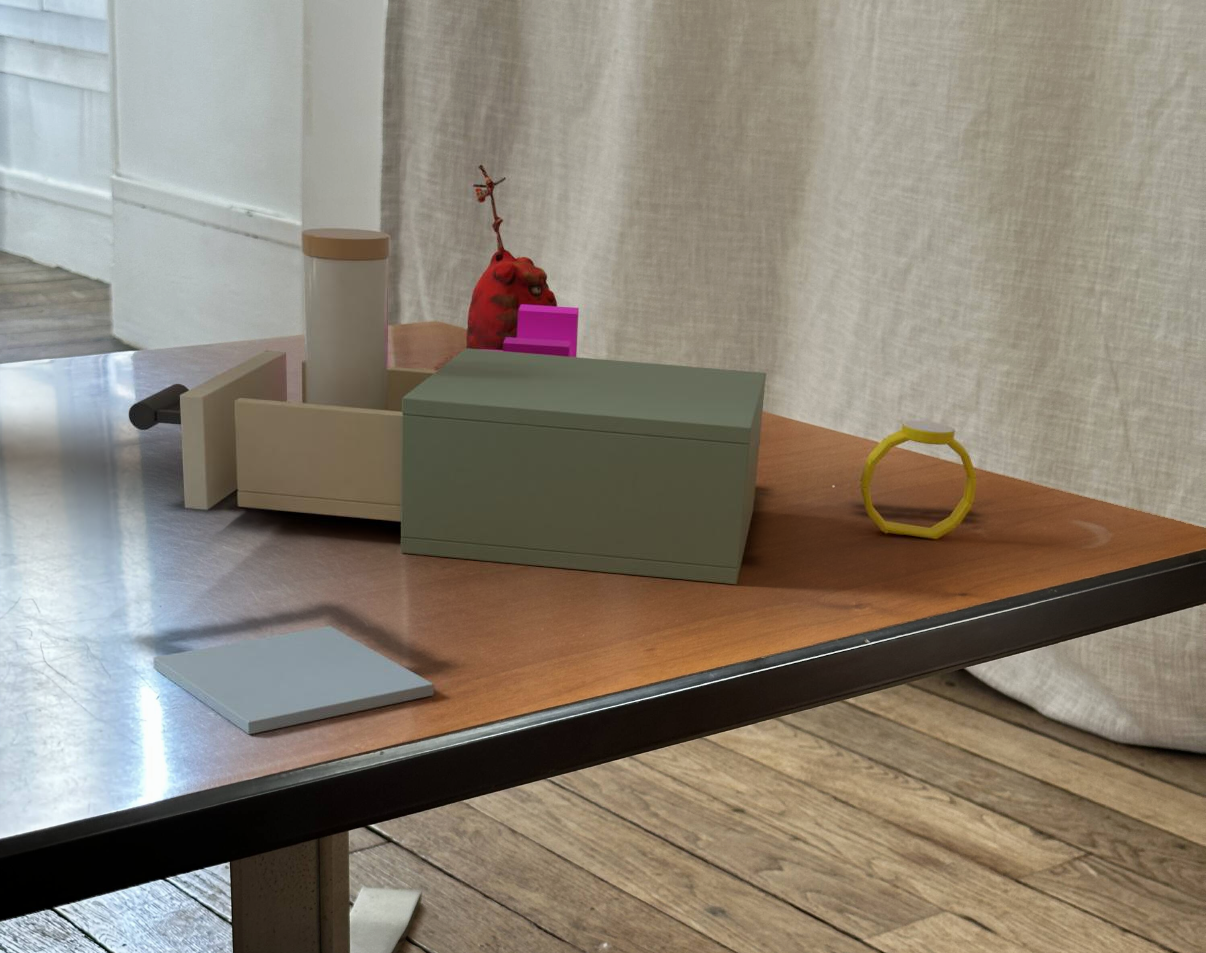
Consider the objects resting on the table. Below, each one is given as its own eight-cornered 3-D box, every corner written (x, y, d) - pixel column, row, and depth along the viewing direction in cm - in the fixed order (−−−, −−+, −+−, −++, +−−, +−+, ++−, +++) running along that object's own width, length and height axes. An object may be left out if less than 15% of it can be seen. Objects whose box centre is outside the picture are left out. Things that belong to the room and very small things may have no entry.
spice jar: (294, 476, 88) (290, 234, 84) (318, 458, 92) (315, 225, 88) (377, 484, 88) (377, 241, 83) (397, 465, 92) (399, 232, 87)
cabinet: (400, 552, 84) (401, 397, 81) (462, 483, 97) (465, 347, 94) (736, 584, 82) (751, 427, 79) (753, 510, 96) (766, 372, 92)
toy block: (479, 417, 114) (482, 301, 111) (573, 423, 114) (578, 307, 111) (456, 470, 100) (459, 340, 97) (563, 477, 100) (569, 346, 97)
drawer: (101, 504, 86) (94, 387, 83) (195, 447, 98) (191, 343, 95) (489, 539, 84) (492, 421, 81) (535, 477, 96) (539, 372, 94)
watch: (857, 537, 91) (871, 426, 89) (853, 524, 94) (866, 415, 92) (969, 545, 91) (986, 434, 89) (962, 531, 94) (978, 423, 91)
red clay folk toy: (545, 399, 120) (554, 174, 114) (449, 390, 122) (453, 166, 115) (570, 381, 127) (580, 167, 121) (479, 372, 128) (485, 159, 122)
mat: (248, 735, 62) (248, 722, 62) (153, 668, 68) (152, 656, 67) (434, 695, 67) (434, 683, 66) (330, 636, 72) (330, 625, 72)
